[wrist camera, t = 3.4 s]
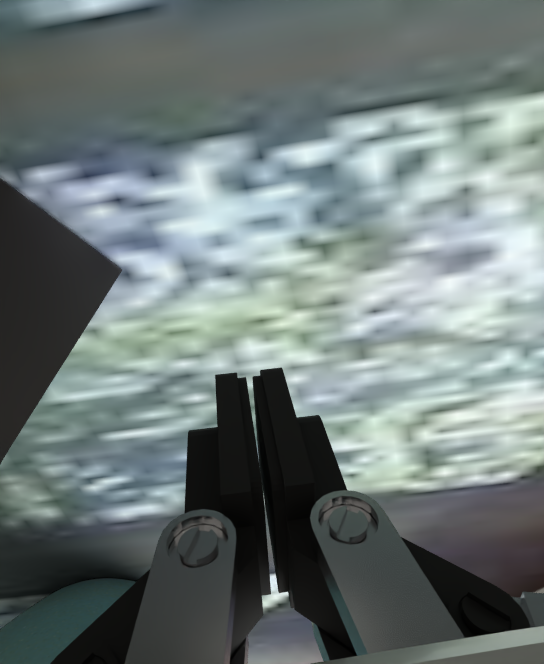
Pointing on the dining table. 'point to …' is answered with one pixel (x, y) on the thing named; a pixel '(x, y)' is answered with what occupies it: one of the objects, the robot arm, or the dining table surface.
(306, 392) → the dining table surface
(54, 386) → the dining table surface
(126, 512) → the dining table surface
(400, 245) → the dining table surface
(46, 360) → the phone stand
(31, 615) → the plant pot
